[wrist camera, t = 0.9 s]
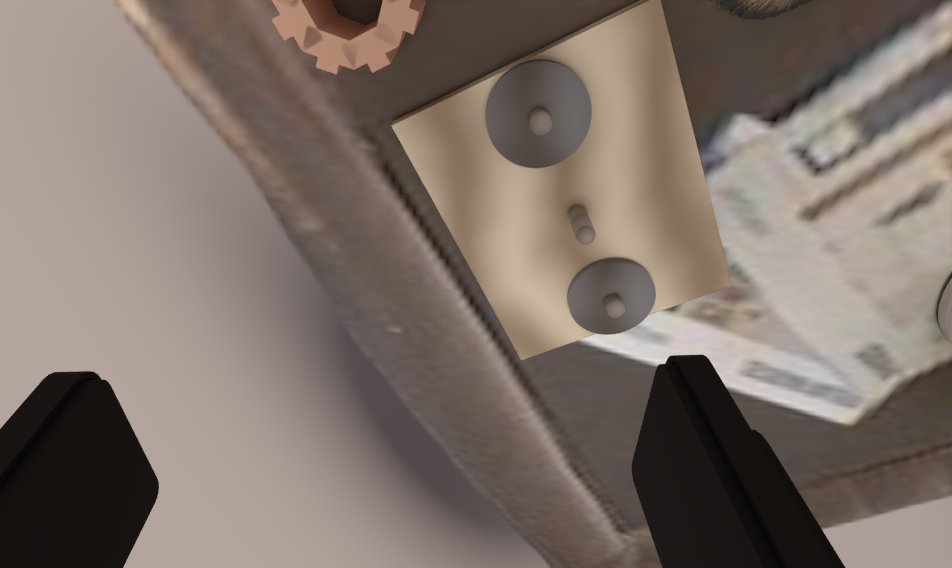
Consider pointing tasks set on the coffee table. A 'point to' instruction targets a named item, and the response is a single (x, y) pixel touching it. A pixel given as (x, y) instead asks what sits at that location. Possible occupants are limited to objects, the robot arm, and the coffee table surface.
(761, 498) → the robot arm
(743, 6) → the eagle figurine
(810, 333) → the coffee table surface
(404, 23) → the gear wheel
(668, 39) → the board
